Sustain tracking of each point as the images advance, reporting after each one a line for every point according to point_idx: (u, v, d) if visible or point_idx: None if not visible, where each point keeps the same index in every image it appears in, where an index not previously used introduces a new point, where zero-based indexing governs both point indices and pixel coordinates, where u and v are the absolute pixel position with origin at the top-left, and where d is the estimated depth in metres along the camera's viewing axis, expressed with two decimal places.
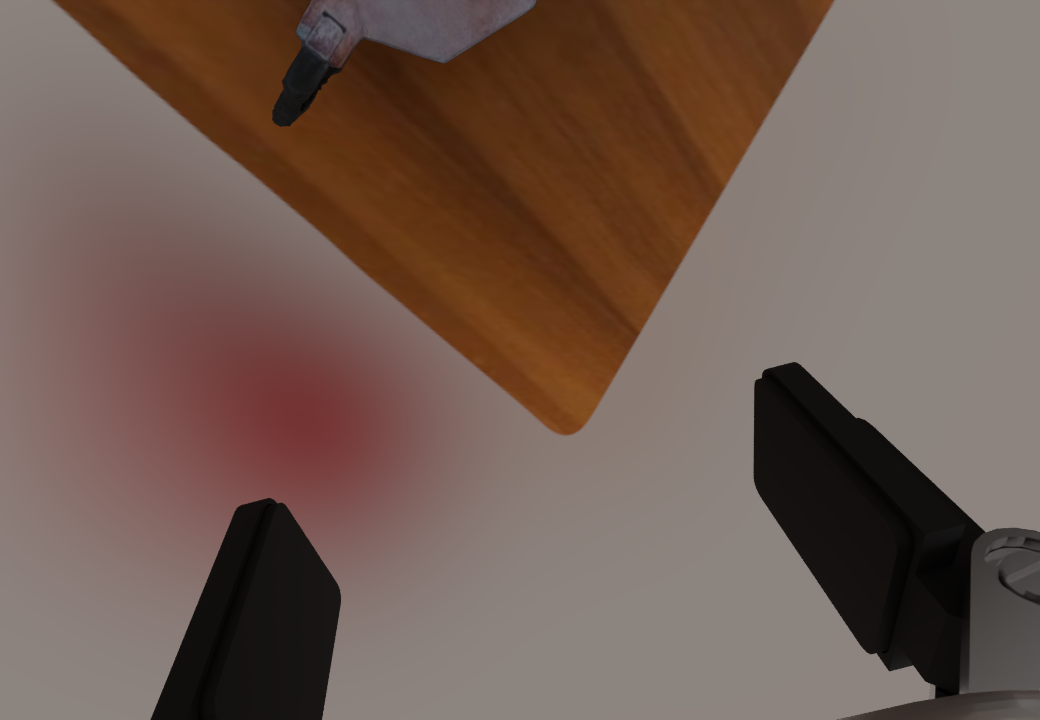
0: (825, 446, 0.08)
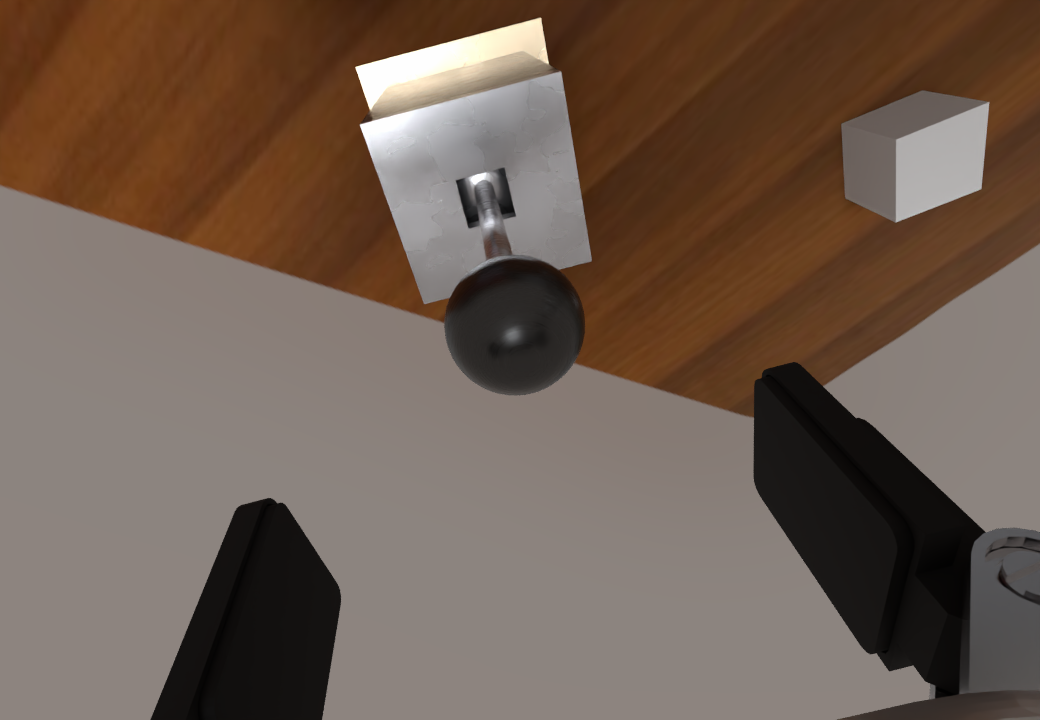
0: (825, 446, 0.08)
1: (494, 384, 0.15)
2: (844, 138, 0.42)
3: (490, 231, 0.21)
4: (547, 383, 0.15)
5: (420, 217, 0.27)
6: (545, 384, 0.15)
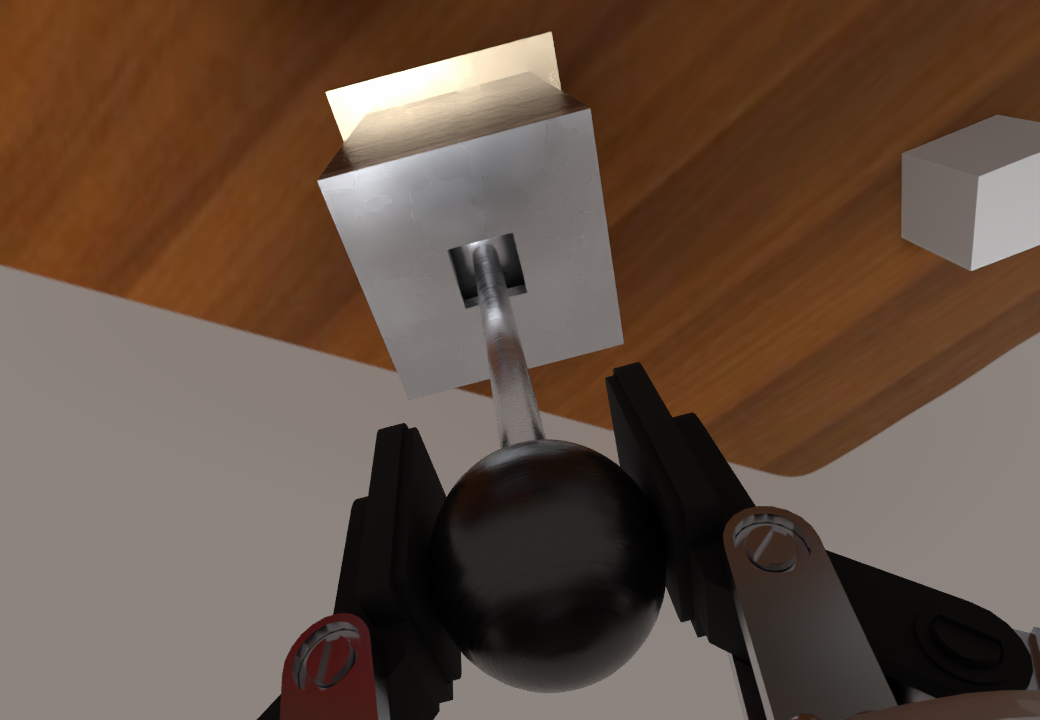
0: (639, 436, 0.09)
1: (515, 687, 0.09)
2: (904, 170, 0.35)
3: (497, 340, 0.15)
4: None
5: (402, 295, 0.20)
6: None
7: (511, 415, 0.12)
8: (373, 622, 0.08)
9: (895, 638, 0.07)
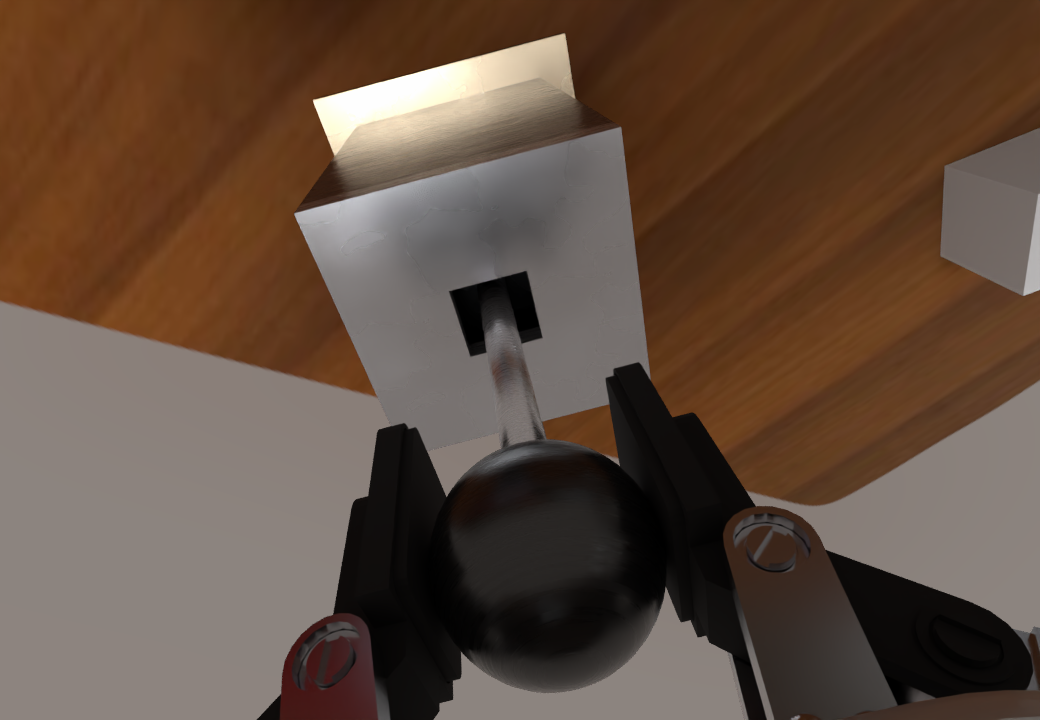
0: (639, 437, 0.09)
1: None
2: (947, 184, 0.32)
3: (498, 339, 0.15)
4: None
5: (396, 343, 0.17)
6: None
7: (511, 415, 0.12)
8: (373, 622, 0.08)
9: (895, 638, 0.07)
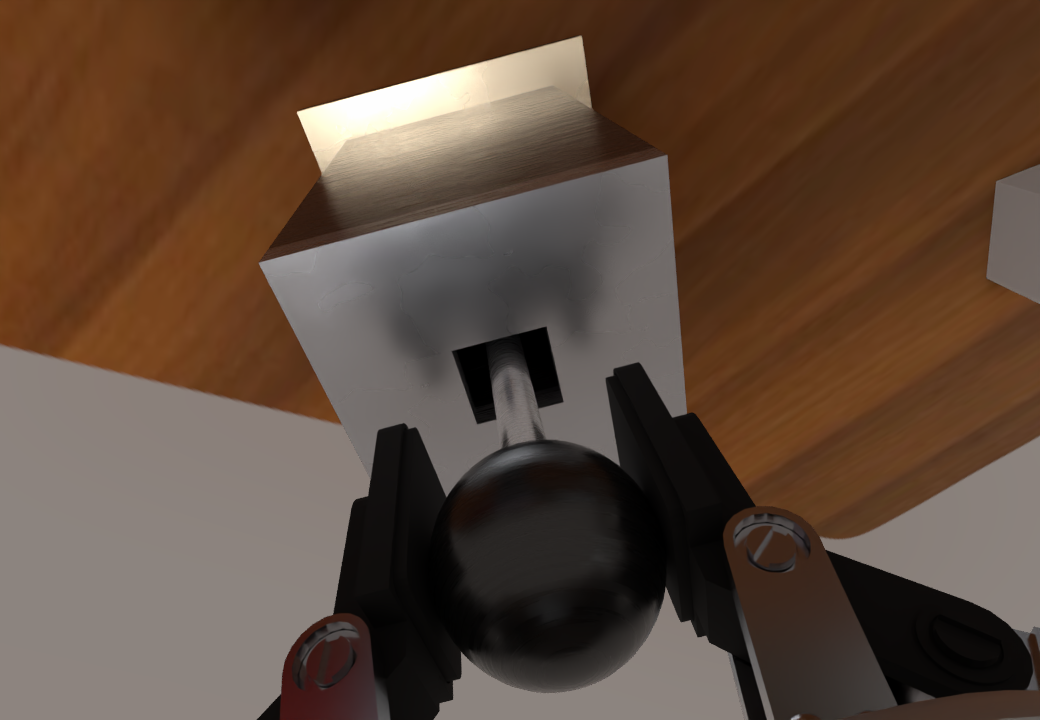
0: (639, 436, 0.09)
1: None
2: (997, 201, 0.30)
3: (498, 340, 0.15)
4: None
5: (388, 410, 0.14)
6: None
7: (511, 415, 0.12)
8: (373, 622, 0.08)
9: (895, 638, 0.07)
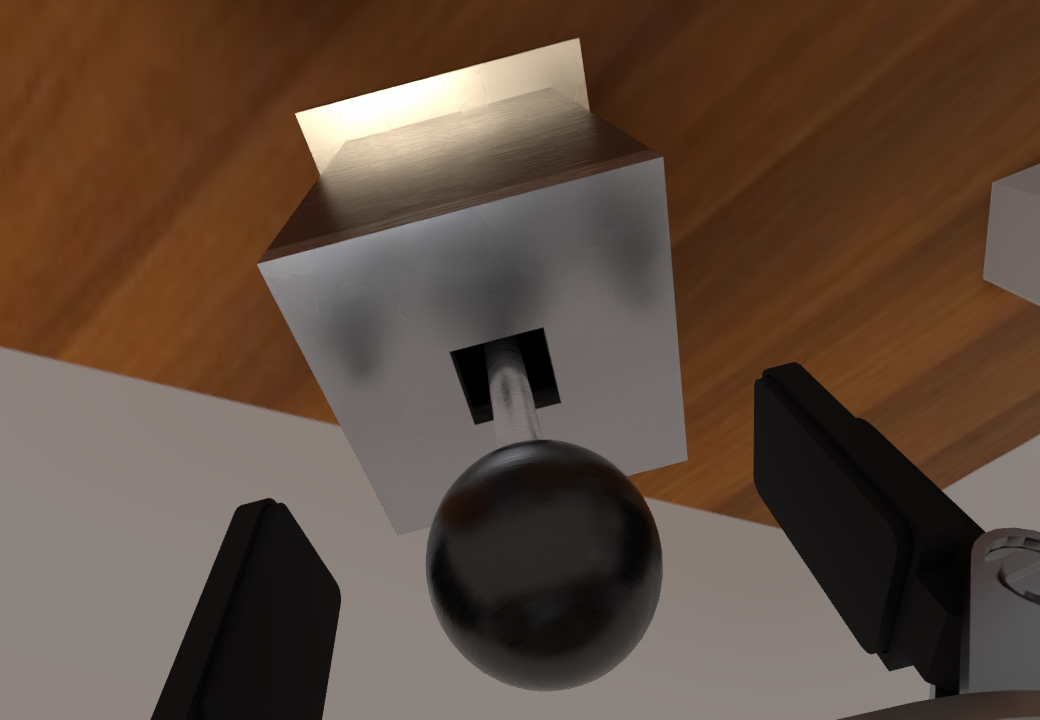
0: (825, 446, 0.08)
1: (512, 685, 0.09)
2: (994, 202, 0.30)
3: (495, 341, 0.15)
4: None
5: (386, 411, 0.14)
6: None
7: (508, 415, 0.12)
8: None
9: None
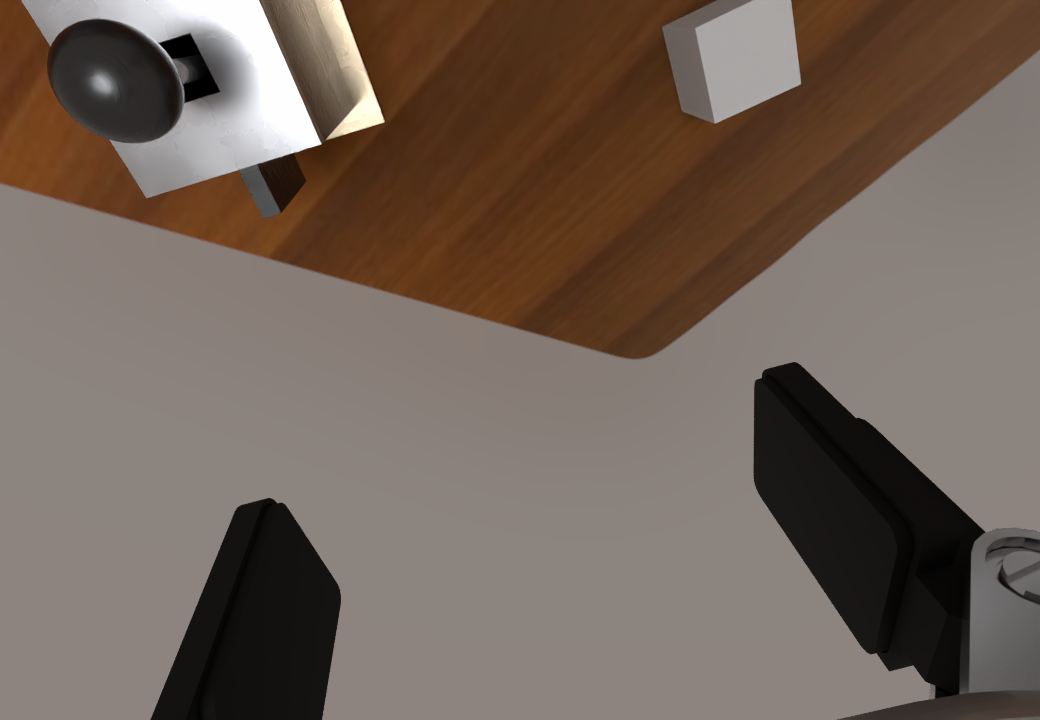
0: (825, 446, 0.08)
1: (84, 118, 0.19)
2: (667, 43, 0.40)
3: None
4: (132, 119, 0.19)
5: None
6: (130, 120, 0.19)
7: None
8: None
9: None
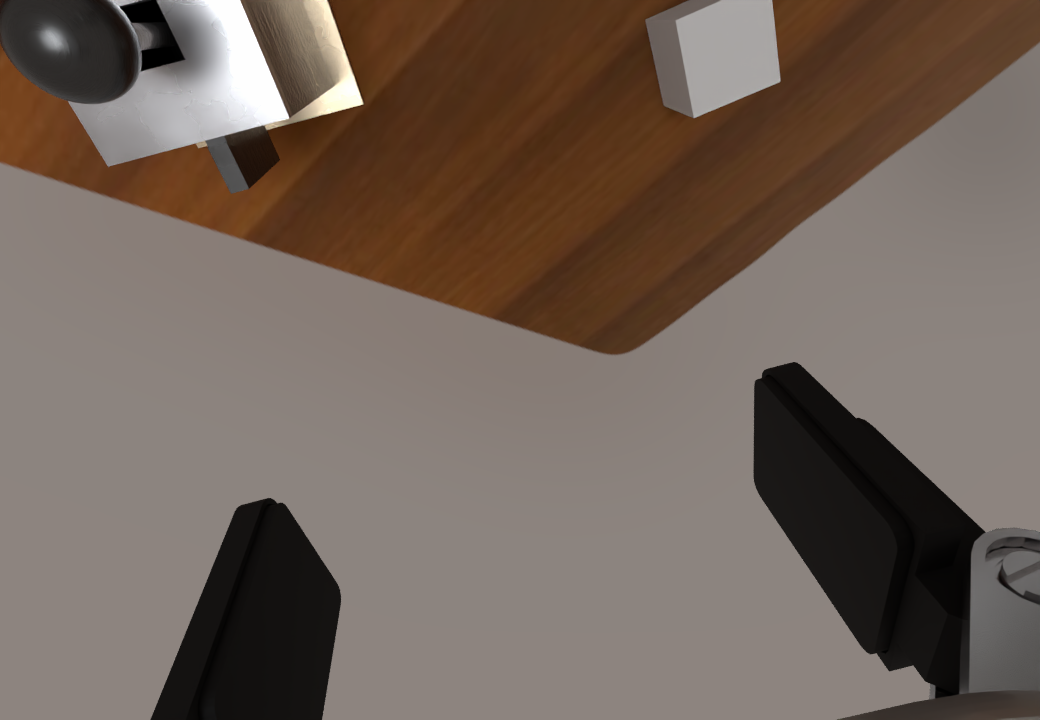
0: (825, 446, 0.08)
1: (33, 73, 0.18)
2: (649, 36, 0.39)
3: (147, 23, 0.25)
4: (83, 77, 0.19)
5: None
6: (81, 78, 0.19)
7: None
8: None
9: None
